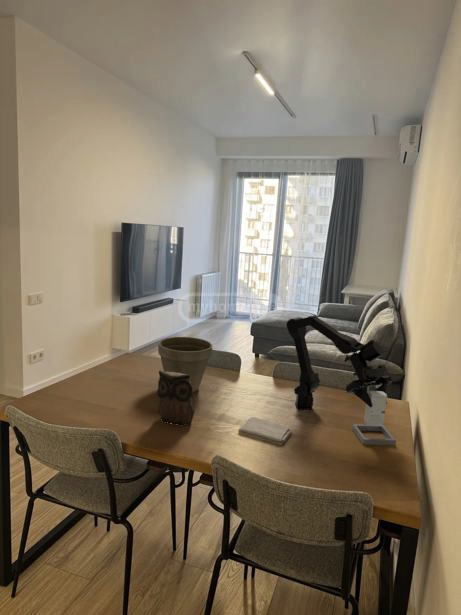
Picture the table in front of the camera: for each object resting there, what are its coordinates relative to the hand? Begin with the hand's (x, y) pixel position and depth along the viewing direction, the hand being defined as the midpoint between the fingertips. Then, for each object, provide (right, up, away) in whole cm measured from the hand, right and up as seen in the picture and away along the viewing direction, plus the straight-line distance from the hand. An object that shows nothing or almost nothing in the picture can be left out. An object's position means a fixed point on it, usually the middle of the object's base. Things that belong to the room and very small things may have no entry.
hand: (378, 405), depth 156 cm
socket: (-1, -13, +4) cm, 13 cm away
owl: (-75, -8, +10) cm, 76 cm away
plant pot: (-77, -2, +42) cm, 87 cm away
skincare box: (-1, -7, +3) cm, 8 cm away
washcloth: (-42, -11, +3) cm, 43 cm away
